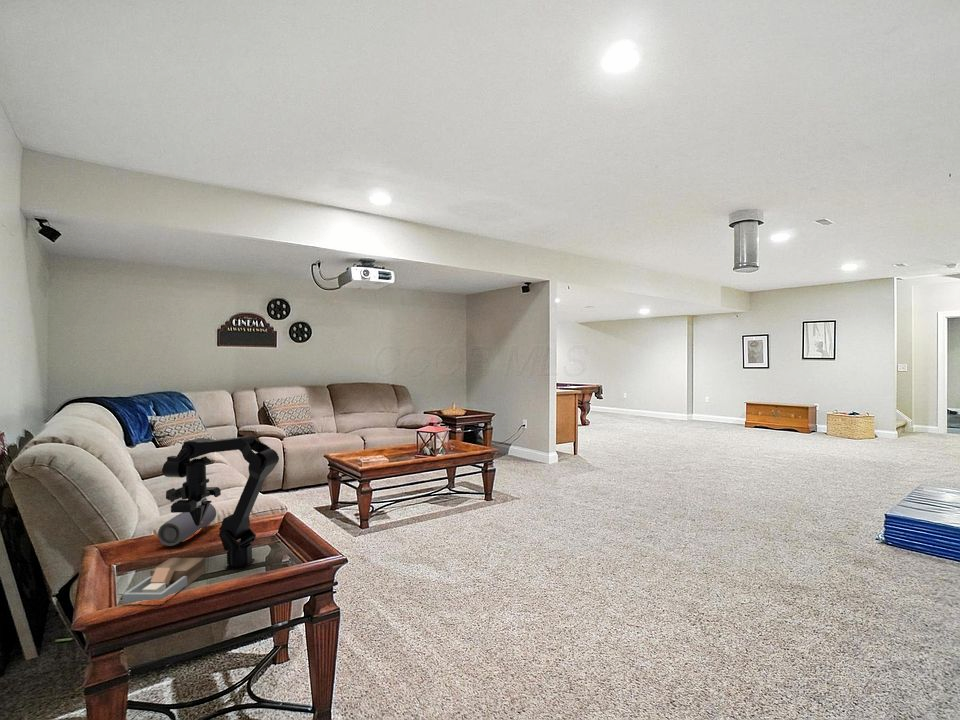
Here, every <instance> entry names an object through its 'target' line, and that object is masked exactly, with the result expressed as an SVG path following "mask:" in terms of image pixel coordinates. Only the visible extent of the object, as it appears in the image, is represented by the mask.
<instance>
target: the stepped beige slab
mask: <svg viewBox="0 0 960 720" xmlns="http://www.w3.org/2000/svg"><path fill="white" fill-rule="evenodd" d="M156 568H171V569H172V570H173V571H174V573H173V575H172V577H171V580H170V582H169V584H173V583H175V582H176V581H177V580H179V579H180V578H181V577H183V576H187V587H188V586H189V585H191V584H192V583H193V582H195V581H196V580H198V579H199V578H200V577H202V576H203V574H205V573H206V558H205V557H170V558H168V559H167V560H165V561H163V562H162V563H160V564H159V565H157V566H156V567H154V568H152V569H151V570H150V572H149V573H150V575H149V576H153V574H154V572H155V570H156Z"/></svg>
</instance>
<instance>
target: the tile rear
mask: <svg viewBox="0 0 960 720" xmlns="http://www.w3.org/2000/svg"><path fill="white" fill-rule="evenodd" d="M155 568H156V567H155ZM173 573H174V571H173V570H172V569H171V568H156V570H155V572H154V574H153V577H152V579H151V581H150V582H151V583H166V585H168V584H169V582H170V580H171V577H172V575H173Z"/></svg>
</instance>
